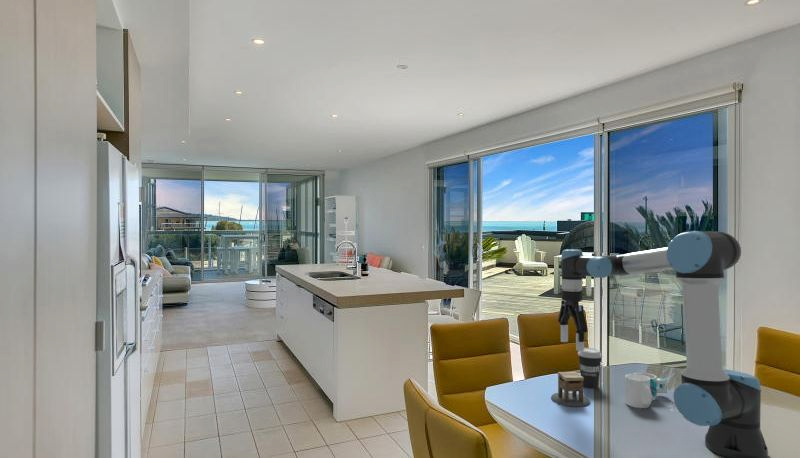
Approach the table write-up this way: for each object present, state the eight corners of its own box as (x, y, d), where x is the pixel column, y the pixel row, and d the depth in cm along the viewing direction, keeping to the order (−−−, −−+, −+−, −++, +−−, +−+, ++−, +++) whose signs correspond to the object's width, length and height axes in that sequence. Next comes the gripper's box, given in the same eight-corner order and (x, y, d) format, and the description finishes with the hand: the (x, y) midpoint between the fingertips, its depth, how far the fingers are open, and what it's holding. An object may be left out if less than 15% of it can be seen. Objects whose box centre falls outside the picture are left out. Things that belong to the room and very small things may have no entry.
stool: (583, 402, 176) (583, 377, 176) (565, 402, 176) (565, 377, 176) (575, 395, 183) (575, 371, 183) (557, 395, 183) (557, 372, 183)
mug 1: (661, 412, 168) (661, 383, 168) (639, 413, 167) (640, 384, 167) (641, 400, 180) (641, 373, 180) (620, 401, 179) (620, 374, 179)
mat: (597, 406, 173) (597, 405, 173) (560, 407, 172) (560, 406, 172) (579, 393, 187) (579, 392, 187) (545, 394, 186) (545, 392, 186)
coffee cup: (572, 384, 198) (572, 348, 198) (589, 381, 202) (589, 346, 202) (590, 391, 189) (590, 354, 189) (607, 388, 193) (607, 351, 193)
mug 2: (629, 393, 188) (629, 372, 188) (657, 392, 189) (657, 371, 189) (642, 400, 179) (642, 378, 179) (671, 399, 181) (671, 377, 181)
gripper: (597, 294, 167) (597, 354, 167) (567, 286, 192) (567, 338, 192) (577, 294, 167) (577, 354, 167) (549, 286, 192) (549, 338, 192)
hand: (571, 345), depth 180 cm, fingers open, 13 cm apart
